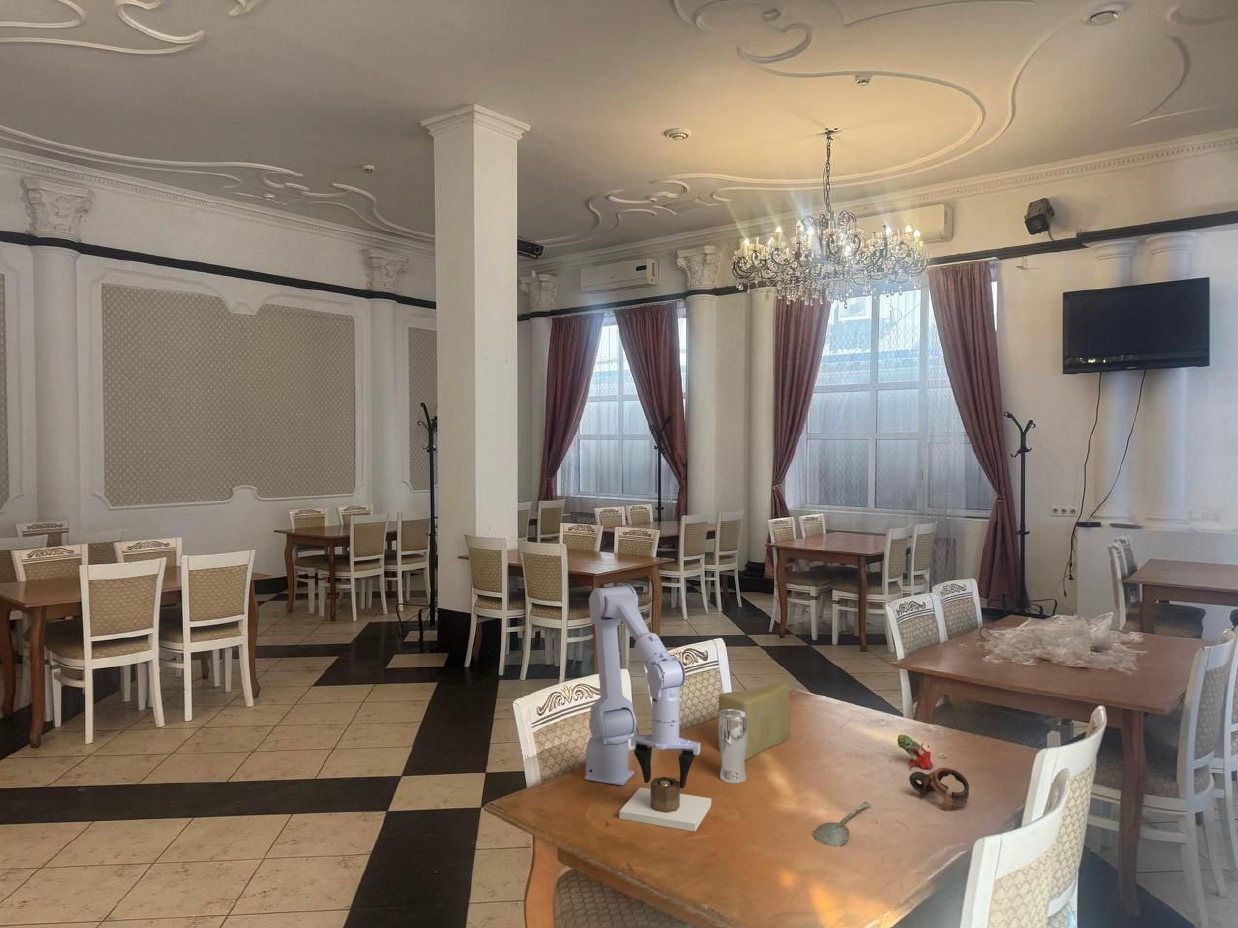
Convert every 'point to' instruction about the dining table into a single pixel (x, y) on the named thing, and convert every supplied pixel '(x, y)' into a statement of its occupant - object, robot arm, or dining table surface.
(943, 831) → the dining table surface
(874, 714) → the dining table surface
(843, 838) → the soupspoon
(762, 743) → the cheese
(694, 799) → the white rectangular board
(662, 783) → the brass rod
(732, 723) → the beer glass
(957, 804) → the brown looped clamp
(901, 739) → the figurine
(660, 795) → the walnut bead
